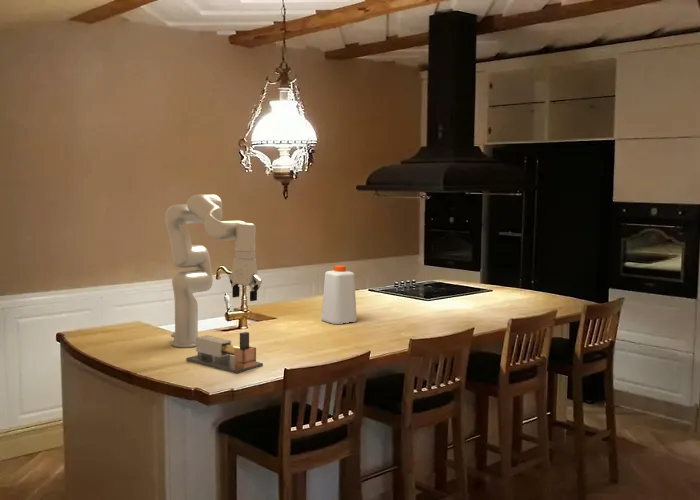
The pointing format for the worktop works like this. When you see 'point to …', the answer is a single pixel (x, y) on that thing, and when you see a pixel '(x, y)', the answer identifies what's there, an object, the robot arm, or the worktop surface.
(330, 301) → the plastic bottle
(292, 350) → the worktop surface
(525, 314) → the worktop surface
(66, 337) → the worktop surface
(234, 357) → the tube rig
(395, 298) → the worktop surface
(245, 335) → the sliding bolt with handle
